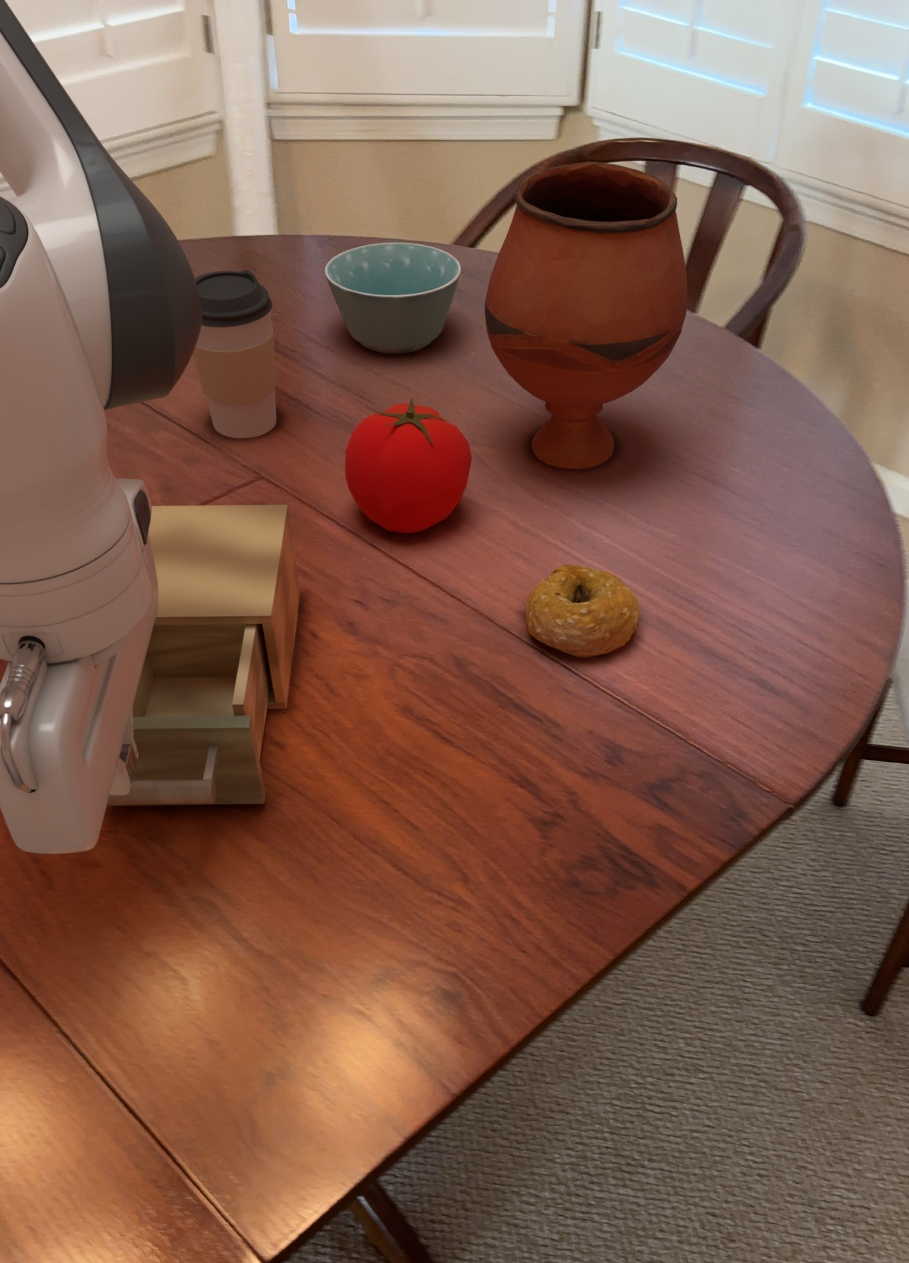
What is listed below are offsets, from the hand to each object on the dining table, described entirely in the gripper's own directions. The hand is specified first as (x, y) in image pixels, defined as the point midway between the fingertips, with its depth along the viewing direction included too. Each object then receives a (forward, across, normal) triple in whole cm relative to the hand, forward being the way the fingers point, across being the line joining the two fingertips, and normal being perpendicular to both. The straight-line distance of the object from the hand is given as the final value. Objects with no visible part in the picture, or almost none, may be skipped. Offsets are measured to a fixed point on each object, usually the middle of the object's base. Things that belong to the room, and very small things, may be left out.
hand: (120, 777), depth 61 cm
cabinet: (+14, +28, 0) cm, 31 cm away
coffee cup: (+14, +66, +2) cm, 68 cm away
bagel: (+15, +31, -31) cm, 46 cm away
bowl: (+14, +86, -14) cm, 88 cm away
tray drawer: (+13, +14, 0) cm, 19 cm away
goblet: (+15, +60, -33) cm, 70 cm away
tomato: (+15, +48, -16) cm, 53 cm away
